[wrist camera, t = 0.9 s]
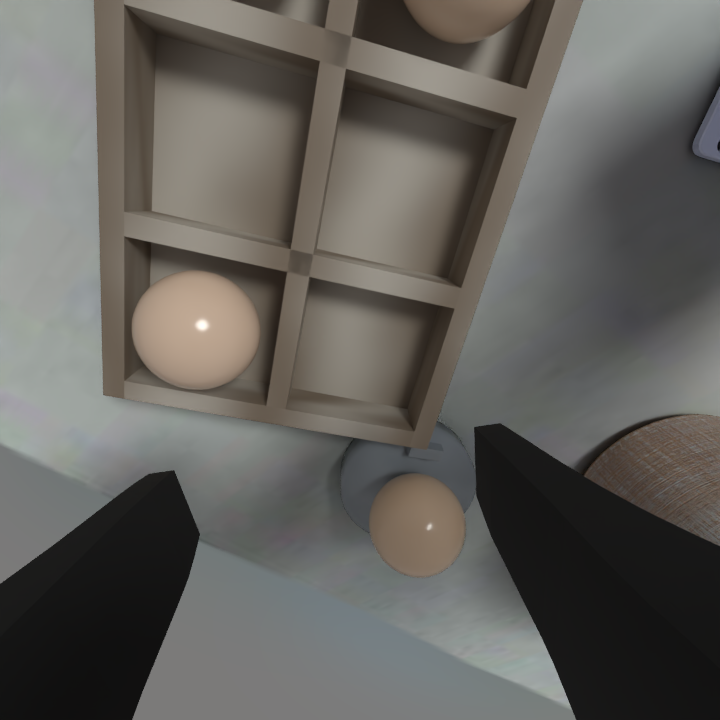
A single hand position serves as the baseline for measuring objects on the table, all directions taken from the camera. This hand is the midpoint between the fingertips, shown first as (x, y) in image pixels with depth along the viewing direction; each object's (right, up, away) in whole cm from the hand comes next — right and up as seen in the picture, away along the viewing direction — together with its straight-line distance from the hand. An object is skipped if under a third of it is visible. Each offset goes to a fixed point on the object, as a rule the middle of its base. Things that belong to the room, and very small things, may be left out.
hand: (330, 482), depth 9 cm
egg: (-5, +5, +7) cm, 10 cm away
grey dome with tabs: (+3, -3, +12) cm, 13 cm away
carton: (-1, +10, +6) cm, 12 cm away
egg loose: (+3, -4, +10) cm, 12 cm away
